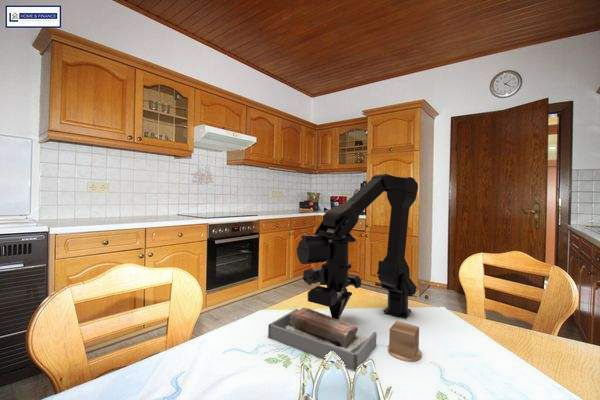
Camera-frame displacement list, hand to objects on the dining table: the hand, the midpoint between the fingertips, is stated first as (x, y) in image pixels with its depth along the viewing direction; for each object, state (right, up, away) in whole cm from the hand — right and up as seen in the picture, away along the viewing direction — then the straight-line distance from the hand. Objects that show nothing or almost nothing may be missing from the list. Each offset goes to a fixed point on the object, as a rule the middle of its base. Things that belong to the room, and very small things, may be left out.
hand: (335, 321), depth 71 cm
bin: (-4, -2, -6) cm, 8 cm away
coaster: (+14, -2, -10) cm, 17 cm away
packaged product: (-3, -3, -4) cm, 6 cm away
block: (+14, -2, -10) cm, 17 cm away
